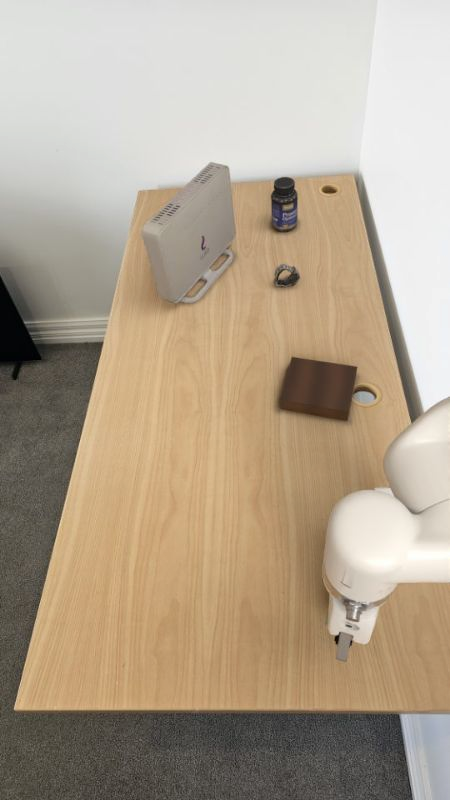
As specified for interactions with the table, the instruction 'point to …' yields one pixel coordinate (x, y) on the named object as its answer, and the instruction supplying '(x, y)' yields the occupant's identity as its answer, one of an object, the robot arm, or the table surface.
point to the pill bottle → (284, 204)
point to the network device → (192, 235)
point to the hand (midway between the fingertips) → (345, 610)
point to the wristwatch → (291, 279)
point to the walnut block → (318, 388)
